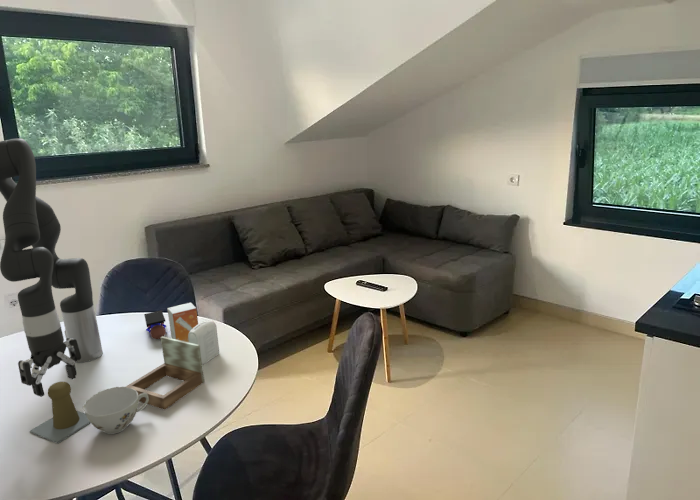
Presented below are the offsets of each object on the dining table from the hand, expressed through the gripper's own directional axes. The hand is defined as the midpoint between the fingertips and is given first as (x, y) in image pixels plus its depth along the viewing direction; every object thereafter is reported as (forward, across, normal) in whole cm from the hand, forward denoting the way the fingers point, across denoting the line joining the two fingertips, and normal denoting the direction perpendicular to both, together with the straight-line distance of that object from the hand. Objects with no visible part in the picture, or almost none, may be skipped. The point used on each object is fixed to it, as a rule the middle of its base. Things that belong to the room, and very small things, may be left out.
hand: (56, 386), depth 130 cm
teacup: (+11, +6, -14) cm, 19 cm away
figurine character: (+12, +50, +20) cm, 55 cm away
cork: (+11, 0, 0) cm, 11 cm away
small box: (+12, +48, +4) cm, 49 cm away
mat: (+11, 0, 0) cm, 11 cm away
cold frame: (+11, +22, -12) cm, 28 cm away
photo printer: (+12, +41, -10) cm, 44 cm away
